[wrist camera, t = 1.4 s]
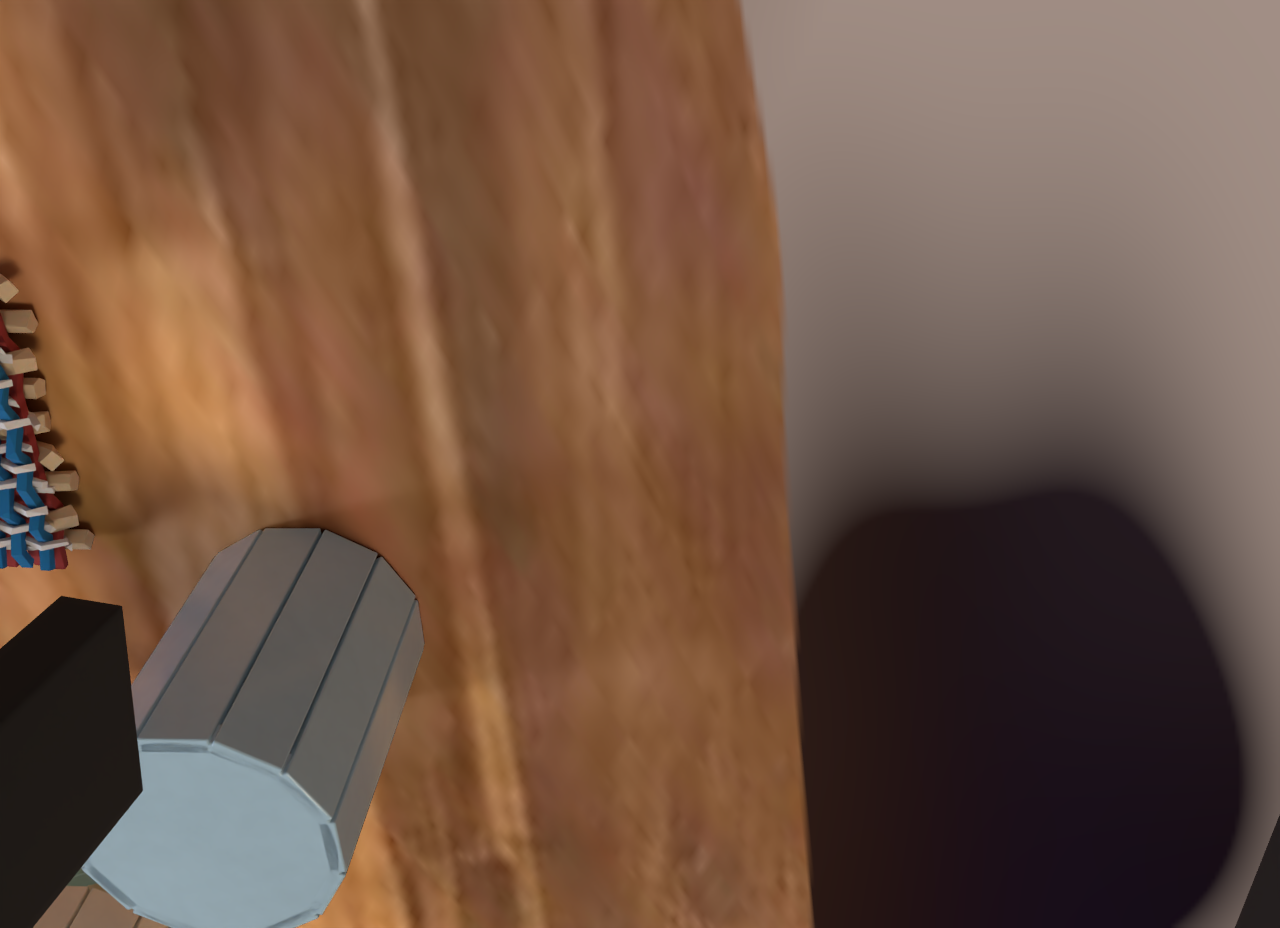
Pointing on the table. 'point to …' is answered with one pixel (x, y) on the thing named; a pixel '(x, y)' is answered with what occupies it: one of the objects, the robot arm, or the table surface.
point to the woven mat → (30, 460)
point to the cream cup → (91, 911)
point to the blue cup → (263, 734)
